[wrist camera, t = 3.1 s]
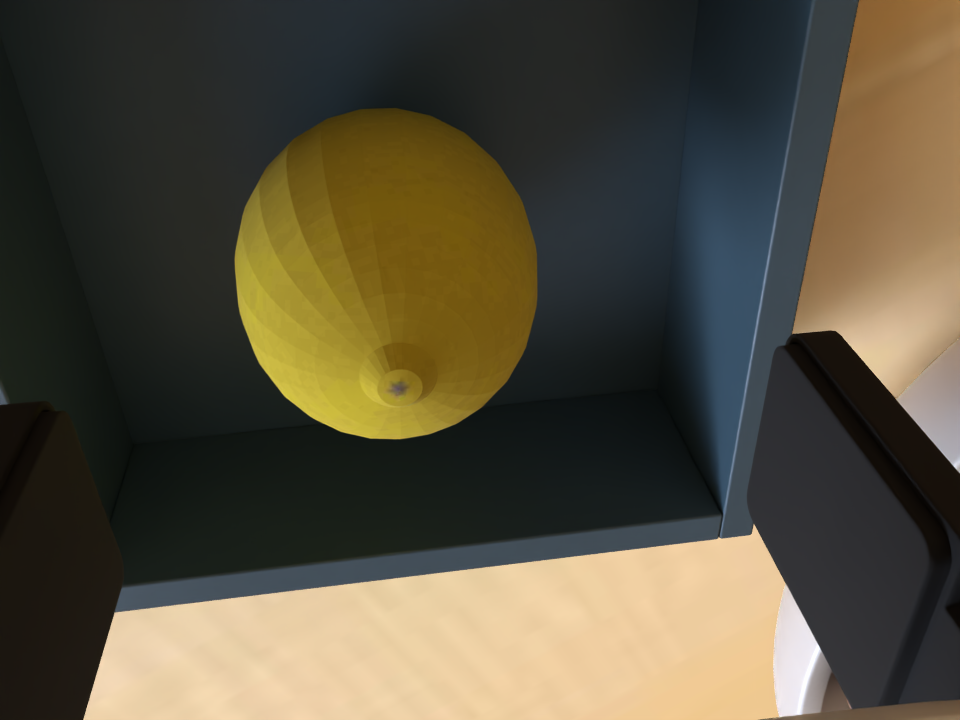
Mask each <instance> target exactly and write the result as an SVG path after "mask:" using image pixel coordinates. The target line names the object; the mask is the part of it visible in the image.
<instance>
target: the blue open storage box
mask: <svg viewBox="0 0 960 720" xmlns="http://www.w3.org/2000/svg"><path fill="white" fill-rule="evenodd" d="M858 3H859V0H0V405H3V404H14V403H25V402H36V401H47V402H49V403H50V404H51V405H52V406H53V407H54V409H55V411H62V410H63V411H66V412H67V413H68V414H69V416H70V418H71V420H72V423H73V426H74V428H75V431H76V434H77V436H78V439H79V442H80V445H81V447H82V450H83V453H84V455H85V458H86V461H87V464H88V466H89V469H90V472H91V474H92V477H93V480H94V483H95V485H96V488H97V491H98V493H99V496H100V499H101V501H102V504H103V507H104V510H105V512H106V515H107V518H108V520H109V523H110V526H111V529H112V531H113V534H114V537H115V539H116V542H117V545H118V547H119V550H120V553H121V556H122V559H123V566H124V578H123V585H122V589H121V592H120V595H119V599H118V602H117V606H116V609H115V612H122V611H130V610H138V609H147V608H155V607H163V606H171V605H179V604H188V603H196V602H204V601H212V600H221V599H229V598H237V597H245V596H253V595H262V594H270V593H278V592H286V591H294V590H303V589H311V588H319V587H327V586H335V585H344V584H352V583H360V582H368V581H377V580H385V579H393V578H401V577H409V576H418V575H426V574H434V573H442V572H450V571H459V570H467V569H475V568H483V567H491V566H500V565H508V564H516V563H524V562H533V561H541V560H549V559H557V558H565V557H574V556H582V555H590V554H598V553H606V552H615V551H623V550H631V549H639V548H647V547H656V546H664V545H672V544H680V543H689V542H697V541H705V540H713V539H718V537H719V538H730V537H738V536H746V535H751V534H752V529H753V524H754V523H753V521H752V519H751V516H750V514H749V510H748V505H747V489H748V484H749V479H750V474H751V468H752V463H753V458H754V453H755V447H756V442H757V437H758V432H759V426H760V421H761V416H762V411H763V405H764V400H765V395H766V390H767V384H768V379H769V374H770V369H771V363H772V358H773V354H774V351H775V349H776V348H777V347H778V346H782V345H785V344H786V341H787V339H788V338H789V336H791V335H792V331H793V326H794V321H795V316H796V311H797V306H798V301H799V296H800V291H801V286H802V281H803V276H804V271H805V266H806V261H807V256H808V251H809V246H810V241H811V236H812V231H813V226H814V221H815V216H816V211H817V206H818V201H819V196H820V191H821V186H822V181H823V177H824V172H825V167H826V162H827V157H828V152H829V147H830V142H831V137H832V132H833V127H834V122H835V117H836V112H837V107H838V102H839V97H840V92H841V87H842V82H843V77H844V72H845V67H846V62H847V57H848V52H849V47H850V42H851V37H852V32H853V27H854V22H855V17H856V12H857V8H858ZM379 108H398V109H403V110H407V111H412V112H416V113H421V114H425V115H430V116H433V117H435V118H437V119H439V120H440V121H442V122H444V123H446V124H448V125H450V126H452V127H454V128H456V129H458V130H460V131H462V132H464V133H465V134H467V135H468V136H469V137H470V138H471V139H472V140H473V141H475V142H476V143H477V144H478V145H479V146H480V147H481V148H482V149H483V150H485V151H486V152H487V153H488V154H489V155H490V156H491V157H492V158H493V159H495V160H496V162H497V163H498V164H499V166H500V167H501V169H502V170H503V172H504V173H505V175H506V176H507V178H508V179H509V181H510V182H511V184H512V185H513V187H514V189H515V190H516V192H517V193H518V195H519V196H520V198H521V200H522V202H523V205H524V208H525V212H526V215H527V218H528V221H529V225H530V228H531V231H532V234H533V238H534V241H535V245H536V251H537V306H536V311H535V315H534V319H533V323H532V327H531V330H530V334H529V338H528V342H527V345H526V348H525V350H524V352H523V354H522V356H521V358H520V360H519V362H518V363H517V365H516V367H515V368H514V370H513V372H512V374H511V375H510V377H509V379H508V381H507V382H506V383H505V384H504V385H503V386H502V387H501V388H500V389H499V390H498V391H497V392H496V393H495V394H494V395H493V396H492V397H491V398H490V399H489V400H488V401H487V402H486V403H485V404H484V405H483V406H482V407H481V408H480V409H479V410H477V411H476V412H474V413H472V414H471V415H469V416H468V417H466V418H465V419H463V420H462V421H460V422H459V423H457V424H455V425H452V426H450V427H447V428H444V429H442V430H439V431H437V432H434V433H432V434H428V435H422V436H416V437H410V438H405V439H370V438H366V437H361V436H357V435H353V434H348V433H344V432H340V431H338V430H336V429H334V428H332V427H330V426H328V425H326V424H324V423H321V422H319V421H317V420H315V419H313V418H312V417H310V416H309V415H308V414H306V413H305V412H304V411H302V410H301V409H300V408H299V407H297V406H296V405H295V404H294V403H292V402H291V401H290V400H289V399H287V398H286V397H285V396H284V395H283V394H282V393H281V391H280V390H279V389H278V387H277V386H276V385H275V383H274V382H273V381H272V379H271V378H270V377H269V376H268V374H267V373H266V372H265V370H264V369H263V368H262V366H261V365H260V364H259V362H258V360H257V357H256V355H255V353H254V350H253V348H252V345H251V343H250V340H249V337H248V335H247V332H246V330H245V327H244V325H243V322H242V318H241V315H240V311H239V306H238V297H237V285H236V274H235V251H236V245H237V240H238V235H239V230H240V225H241V220H242V215H243V212H244V209H245V206H246V204H247V202H248V200H249V198H250V196H251V195H252V193H253V191H254V189H255V187H256V185H257V183H258V182H259V180H260V178H261V176H262V174H263V172H264V170H265V169H266V167H267V166H268V165H269V164H270V163H271V162H272V161H273V160H274V159H275V158H276V157H277V156H278V155H279V154H280V153H281V152H282V150H283V149H284V148H285V147H286V146H287V145H288V144H289V143H290V142H291V141H292V140H293V139H294V138H296V137H297V136H299V135H301V134H302V133H304V132H306V131H307V130H309V129H311V128H312V127H314V126H316V125H317V124H319V123H321V122H322V121H324V120H326V119H328V118H331V117H335V116H338V115H342V114H345V113H349V112H352V111H356V110H359V109H379Z"/></svg>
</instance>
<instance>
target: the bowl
mask: <svg viewBox="0 0 960 720" xmlns="http://www.w3.org/2000/svg"><path fill="white" fill-rule="evenodd" d="M896 400H897V401H898V402H899V404H900V405H901V406H902V407H903V408H904V409H905V410H906V412H907V413H908V414H909V415H910V416H911V417H912V419H913V420H914V421H915V422H916V423H917V424H918V426H919V427H920V428H921V429H922V430H923V431H924V432H925V434H926V435H927V436H928V437H929V438H930V439H931V441H932V442H933V443H934V444H935V445H936V446H937V448H938V449H939V450H940V451H941V452H942V453H943V455H944V456H945V457H946V458H947V459H948V460H949V461H950V463H951V464H952V465H953V466H954V467H955V468H956V470H957V471H958V472H959V473H960V338H958V339H957V340H956V341H955V342H954V343H953V344H951V345H950V346H949V347H948V348H947V349H946V350H945V351H944V352H943V353H942V354H941V355H940V356H939V357H937V358H936V359H935V360H934V361H933V362H932V363H931V364H930V365H929V366H928V367H927V368H926V369H925V370H924V371H923V372H922V373H921V374H920V375H919V376H918V377H917V378H916V379H915V380H914V381H913V382H912V383H911V384H910V385H909V386H908V387H907V388H906V389H905V390H904V391H903V392H902V393H901V394H900V395H899V397H898V398H897V399H896ZM773 670H774V685H775V697H776V703H777V709H778V714H779V717H785V716H794V715H802V714H811V713H821V712H831V711H841V710H850V709H852V708H851V706H850V704H849V702H848V700H847V698H846V696H845V695H844V693H843V691H842V689H841V687H840V685H839V683H838V681H837V679H836V678H835V676H834V674H833V672H832V670H831V668H830V666H829V664H828V662H827V661H826V659H825V657H824V655H823V653H822V651H821V649H820V647H819V645H818V644H817V642H816V640H815V638H814V636H813V634H812V632H811V630H810V628H809V627H808V625H807V623H806V621H805V619H804V617H803V615H802V613H801V611H800V610H799V608H798V606H797V604H796V602H795V600H794V598H793V596H792V594H791V592H790V591H789V589H788V587H787V585H786V584H785V587H784V590H783V595H782V599H781V604H780V608H779V613H778V618H777V625H776V632H775V640H774V665H773Z"/></svg>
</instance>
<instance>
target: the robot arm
mask: <svg viewBox="0 0 960 720" xmlns="http://www.w3.org/2000/svg"><path fill="white" fill-rule="evenodd" d="M747 505H748V510H749V514H750V516H751V519H752V521H753V523H754V524H755V526H756V528H757V530H758V532H759V534H760V536H761V538H762V540H763V541H764V543H765V545H766V547H767V549H768V551H769V553H770V555H771V557H772V558H773V560H774V562H775V564H776V566H777V568H778V570H779V572H780V574H781V575H782V577H783V579H784V581H785V583H786V585H787V587H788V589H789V591H790V592H791V594H792V596H793V598H794V600H795V602H796V604H797V606H798V608H799V610H800V611H801V613H802V615H803V617H804V619H805V621H806V623H807V625H808V627H809V628H810V630H811V632H812V634H813V636H814V638H815V640H816V642H817V644H818V645H819V647H820V649H821V651H822V653H823V655H824V657H825V659H826V661H827V662H828V664H829V666H830V668H831V670H832V672H833V674H834V676H835V678H836V679H837V681H838V683H839V685H840V687H841V689H842V691H843V693H844V695H845V696H846V698H847V700H848V702H849V704H850V706H851V708H852V709H850V710H841V711H831V712H821V713H811V714H802V715H794V716H785V717H777V718H768V719H760V720H960V473H959V472H958V471H957V470H956V468H955V467H954V466H953V465H952V464H951V463H950V461H949V460H948V459H947V458H946V457H945V456H944V455H943V453H942V452H941V451H940V450H939V449H938V448H937V446H936V445H935V444H934V443H933V442H932V441H931V439H930V438H929V437H928V436H927V435H926V434H925V432H924V431H923V430H922V429H921V428H920V427H919V426H918V424H917V423H916V422H915V421H914V420H913V419H912V417H911V416H910V415H909V414H908V413H907V412H906V410H905V409H904V408H903V407H902V406H901V405H900V404H899V402H898V401H897V400H896V399H895V398H894V397H893V395H892V394H891V393H890V392H889V391H888V390H887V388H886V387H885V386H884V385H883V384H882V383H881V381H880V380H879V379H878V378H877V377H876V376H875V375H874V373H873V372H872V371H871V370H870V369H869V368H868V366H867V365H866V364H865V363H864V362H863V361H862V359H861V358H860V357H859V356H858V355H857V354H856V352H855V351H854V350H853V349H852V348H851V347H850V346H849V344H848V343H847V342H846V341H845V340H844V339H843V337H842V336H841V335H840V334H838V333H837V332H836V331H820V332H809V333H798V334H792V335H791V336H789V338H788V339H787V341H786V344H785V345H782V346H778V347H777V348H776V349H775V351H774V354H773V358H772V363H771V369H770V374H769V379H768V384H767V390H766V395H765V400H764V405H763V411H762V416H761V421H760V426H759V432H758V437H757V442H756V447H755V453H754V458H753V463H752V468H751V474H750V479H749V484H748V489H747ZM123 578H124V566H123V559H122V556H121V553H120V550H119V547H118V545H117V542H116V539H115V537H114V534H113V531H112V529H111V526H110V523H109V520H108V518H107V515H106V512H105V510H104V507H103V504H102V501H101V499H100V496H99V493H98V491H97V488H96V485H95V483H94V480H93V477H92V474H91V472H90V469H89V466H88V464H87V461H86V458H85V455H84V453H83V450H82V447H81V445H80V442H79V439H78V436H77V434H76V431H75V428H74V426H73V423H72V420H71V418H70V416H69V414H68V413H67V412H66V411H63V410H62V411H55V409H54V407H53V406H52V405H51V404H50V403H49V402H47V401H36V402H25V403H14V404H3V405H0V720H83V718H84V715H85V712H86V708H87V705H88V701H89V698H90V694H91V691H92V688H93V684H94V681H95V677H96V674H97V671H98V667H99V664H100V660H101V657H102V653H103V650H104V647H105V643H106V640H107V636H108V633H109V630H110V626H111V623H112V619H113V616H114V612H115V609H116V606H117V602H118V599H119V595H120V592H121V589H122V585H123Z"/></svg>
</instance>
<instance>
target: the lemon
mask: <svg viewBox="0 0 960 720" xmlns="http://www.w3.org/2000/svg"><path fill="white" fill-rule="evenodd" d="M235 274H236V285H237V297H238V306H239V311H240V315H241V318H242V322H243V325H244V327H245V330H246V332H247V335H248V337H249V340H250V343H251V345H252V348H253V350H254V353H255V355H256V357H257V360H258V362H259V364H260V365H261V366H262V368H263V369H264V370H265V372H266V373H267V374H268V376H269V377H270V378H271V379H272V381H273V382H274V383H275V385H276V386H277V387H278V389H279V390H280V391H281V393H282V394H283V395H284V396H285V397H286V398H287V399H289V400H290V401H291V402H292V403H294V404H295V405H296V406H297V407H299V408H300V409H301V410H302V411H304V412H305V413H306V414H308V415H309V416H310V417H312V418H313V419H315V420H317V421H319V422H321V423H324V424H326V425H328V426H330V427H332V428H334V429H336V430H338V431H340V432H344V433H348V434H353V435H357V436H361V437H366V438H370V439H405V438H410V437H416V436H422V435H428V434H432V433H434V432H437V431H439V430H442V429H444V428H447V427H450V426H452V425H455V424H457V423H459V422H460V421H462V420H463V419H465V418H466V417H468V416H469V415H471V414H472V413H474V412H476V411H477V410H479V409H480V408H481V407H482V406H483V405H484V404H485V403H486V402H487V401H488V400H489V399H490V398H491V397H492V396H493V395H494V394H495V393H496V392H497V391H498V390H499V389H500V388H501V387H502V386H503V385H504V384H505V383H506V382H507V381H508V379H509V377H510V375H511V374H512V372H513V370H514V368H515V367H516V365H517V363H518V362H519V360H520V358H521V356H522V354H523V352H524V350H525V348H526V345H527V342H528V338H529V334H530V330H531V327H532V323H533V319H534V315H535V311H536V306H537V251H536V245H535V241H534V238H533V234H532V231H531V228H530V225H529V221H528V218H527V215H526V212H525V208H524V205H523V202H522V200H521V198H520V196H519V195H518V193H517V192H516V190H515V189H514V187H513V185H512V184H511V182H510V181H509V179H508V178H507V176H506V175H505V173H504V172H503V170H502V169H501V167H500V166H499V164H498V163H497V162H496V160H495V159H493V158H492V157H491V156H490V155H489V154H488V153H487V152H486V151H485V150H483V149H482V148H481V147H480V146H479V145H478V144H477V143H476V142H475V141H473V140H472V139H471V138H470V137H469V136H468V135H467V134H465V133H464V132H462V131H460V130H458V129H456V128H454V127H452V126H450V125H448V124H446V123H444V122H442V121H440V120H439V119H437V118H435V117H433V116H430V115H425V114H421V113H416V112H412V111H407V110H403V109H398V108H379V109H359V110H356V111H352V112H349V113H345V114H342V115H338V116H335V117H331V118H328V119H326V120H324V121H322V122H321V123H319V124H317V125H316V126H314V127H312V128H311V129H309V130H307V131H306V132H304V133H302V134H301V135H299V136H297V137H296V138H294V139H293V140H292V141H291V142H290V143H289V144H288V145H287V146H286V147H285V148H284V149H283V150H282V152H281V153H280V154H279V155H278V156H277V157H276V158H275V159H274V160H273V161H272V162H271V163H270V164H269V165H268V166H267V167H266V169H265V170H264V172H263V174H262V176H261V178H260V180H259V182H258V183H257V185H256V187H255V189H254V191H253V193H252V195H251V196H250V198H249V200H248V202H247V204H246V206H245V209H244V212H243V215H242V220H241V225H240V230H239V235H238V240H237V245H236V251H235Z"/></svg>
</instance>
